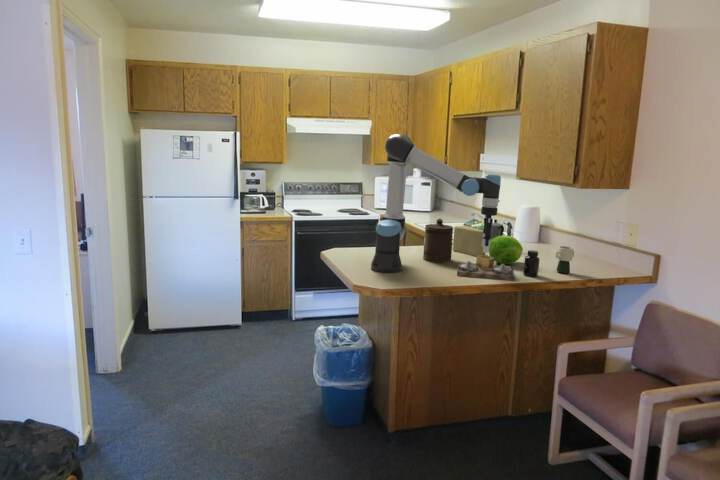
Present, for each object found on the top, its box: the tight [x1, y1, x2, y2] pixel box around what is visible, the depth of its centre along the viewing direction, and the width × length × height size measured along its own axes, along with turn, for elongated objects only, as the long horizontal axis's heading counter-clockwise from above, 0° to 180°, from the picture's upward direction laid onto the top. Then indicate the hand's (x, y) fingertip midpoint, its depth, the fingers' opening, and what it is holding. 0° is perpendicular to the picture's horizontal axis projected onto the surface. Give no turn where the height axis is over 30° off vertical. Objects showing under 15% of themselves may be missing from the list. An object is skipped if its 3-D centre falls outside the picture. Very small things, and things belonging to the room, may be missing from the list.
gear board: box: [456, 260, 515, 281], centre depth 250 cm, size 26×20×6 cm
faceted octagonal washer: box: [475, 254, 495, 269], centre depth 253 cm, size 8×8×5 cm
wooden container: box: [422, 218, 454, 263], centre depth 273 cm, size 15×15×22 cm
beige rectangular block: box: [452, 225, 486, 258], centre depth 290 cm, size 22×10×15 cm, turn 28°
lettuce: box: [488, 234, 524, 265], centre depth 271 cm, size 17×20×15 cm
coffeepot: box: [490, 219, 505, 241], centre depth 305 cm, size 15×9×18 cm, turn 19°
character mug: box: [555, 245, 575, 274], centre depth 256 cm, size 11×7×13 cm, turn 109°
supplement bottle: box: [522, 249, 540, 278], centre depth 248 cm, size 7×7×12 cm
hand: (485, 249), depth 251 cm, fingers open, 13 cm apart
